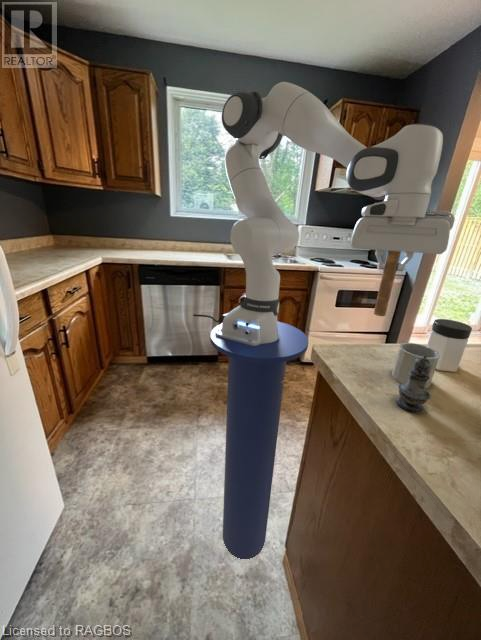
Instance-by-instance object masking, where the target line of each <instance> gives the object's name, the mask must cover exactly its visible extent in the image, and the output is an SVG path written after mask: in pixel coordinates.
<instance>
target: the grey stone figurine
mask: <svg viewBox="0 0 481 640" xmlns="http://www.w3.org/2000/svg"><path fill="white" fill-rule="evenodd" d="M426 357H427V356H426V355H424V356H423V357H422V358H417V359H416V360H415V362H414V366H413V369H412V370H411V371H409V374H410V377H409V380H408V382H407V383H399V384H398V385H397V389H398V393H399V397H397V398H395V403H396V405H397V406H398V407H399V408H401V409H402V410H404V411H406V412H409V413H412V414H422V413H424V412H425V406H424V405H425V404H426V403H427V402H428V400H430V399H431V398H432V395H431V392H429V390H427V388H425V385H426V382H427V380H429V379H430V377H429V376H428V374H429V371H430V368H431V362H430V361H429V360H428V359H427V358H426Z"/></svg>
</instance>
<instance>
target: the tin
mask: <svg viewBox="0 0 481 640" xmlns="http://www.w3.org/2000/svg"><path fill="white" fill-rule="evenodd" d="M424 355H426V356H427V357H426V358H427V359H428V360H429V361H430V362H431V368H430V371H429V374H428V376H429V377H430V379H429V380H427V382H426V385H425V389H428V388H430V386H431V384H432V381H433V378H434V375H435V372H436V370H437V369H436V366H437V363H438V360H439V357H440V354H439V353H438V352H437V351H435V350H434V349H432V348H429V347H427V345H423V344H419V343H414V342H402V343H400V344H399V346H398V350H397V352H396V356H395V361H394V364H393V366H392V371H391V376H392V378H393V379H394V380H395V381H396V382H398V383H399V384H401V383H407V382H408V380H409V377H410V374H409V371H411V370H412V369H413V366H414V362H415V360H416V359H417V358H422V357H423V356H424Z"/></svg>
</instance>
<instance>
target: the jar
mask: <svg viewBox="0 0 481 640" xmlns="http://www.w3.org/2000/svg"><path fill="white" fill-rule="evenodd" d="M472 330H473V327H472V326H470V325H469V324H468V323H467V324H466V323H464V322H461V321H457V320H453V319H448V318H447V319H446V318H436V319H434V321H433V323H432V327H431V332H430V335H429V337H428V341H427V345H426V346H427V347H429V348H432V349H434V350H435V351H437V352H438V353H439V354H440V357H439V360H438V363H437V366H436V369H435V370H437V371H443V372H452V373H457V371H458V369H459V366H460V363H461V361H462V358H463V356H464V353H465V350H466V347H467V344H468V342H469V338H470V336H471V333H472Z"/></svg>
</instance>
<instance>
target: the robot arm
mask: <svg viewBox="0 0 481 640" xmlns="http://www.w3.org/2000/svg"><path fill="white" fill-rule="evenodd" d="M221 124H222V126H223V129H224V130H225V132H227V133H228V135H229V136H230V137H231V138H233V139H236V140H235V143H234V144H233V145H231V146H229V148H228V149H227V150H226V152H225V155H224V163H225V164H224V166H225V172H226V177H227V180H228V183H229V186H230V187H229V188H230V190H231V192H232V194H233V198H234V201H235V204H236V207H237V209H238V210H239V212H240V213H241V214H242V215H244V216H245V217H246V218H241V219H238V220H237V221H236V222H234V224H233V225H232V227H231V230H230V236H229V239H230V244H231V247H232V248H233V250H234V252H235V253H237V254H238V255H239V257H240V258H241V260H242V263H243V267H244V271H245V292H244V293H243V294H241V296H240V297H239V299H238V304H239V305H238V306H236V307H235V308H233V309H231V310H230V311H229V312H227V313H224V314H222V315H221V316H219V318H218V320H217V319H216V318H214V316H212V315H208V314H195V313H194V314H192V316H193V317H199V318H201V317H202V318H210V319H211V320H213V321H214V322H215V323H220V322H221V321H222V322H221V323H223V324H221V323H220V324H221V325H220V326H219V327H218V328H217V329H216V336H218V337H222V338H225V339H229V340H233V341H236V342H240V343H244V344H247V345H251V346H256V345H259V344H265V343H271V342H275V341H277V340H278V339H279V332H278V324H277V321H278V315H279V312H280V297H279V296H280V286H281V285H280V284H281V274H280V272H279V270H277V269H276V268H275V267H274V263H273V255H282V254H285V253H287V252H290V251H292V250H294V249H295V248H296V247H297V246H298V243H299V239H300V231H299V229H298V226H297V225H296V224H295V223H294V222H292V221H291V220H290V219H289V218H288V217H287V216H286V215H285V213H284V212H283V210H282V209H281V207H280V206H279V204H278V203H277V202H276V200H275V198H274V196H273V194H272V192H271V190H270V188H269V185H268V182H267V179H266V176H265V174H264V172H263V169H262V166H261V165H262V164H261V163H260V160H264V159H266V158H267V157H268V156H269V155H270V154H272V153H273V152H274V151H275V150H276V149H277V148H278V147H279V145H280V143H281V141H282V140H283V137H284V138H285V139H286V140H288V142H291V143H292V144H293V145H295V146H297V147H299V148H301V149H303V150H306V151H309V152H312V153H316V154H319V155H322V156H325V157H328V158H330V159H332V160H334V161H336V162H338V163H339V164H340V165H342V166H343V167H344V168H346V174H345V175H346V182H347V184H348V186H349V187H350V189H352V190H353V191H355V192H357V193H358V194H362V195H364V196H368V197H370V198H372V199H373V200H379V201H378V202H375V203H373V204H368V205H365V206H363V208H362V209H361V211H360V212H361V216H362V217H360V218H359V219H358V220H357V221H356V222H355V225H354V228H353V230H352V234H351V237H350V242H349V246H350V247H351V248H352V249H357V250H358V249H359V250H372V251H375V253H374V255H375V257H376V260H377V266H376V269H377V270H379V271H383V270H384V269H385V266H386V263H385V261H383V259H382V257H381V256H383V255H384V252H385V251H387V252H388V251H400V252H401V253H402V252H403V256H404V257H405V258H403V260H402V261H401V262H398V266H397V270H396V272H401V273H402V272H404V271H405V268H406V265H407V264H408V263H409V262H410V261H411V260H412V259H413V257H414V254H415V253H416V254H428V255H429V254H432V255H442V254H443V253H445V252H447V250H448V245H449V240H450V234H451V233H450V232H451V230H452V229H453V227H454V224H455V219H456V218H455V215H454V214H453V213H452V212H450V211H449V210H435V209H428V207H429V203H430V199H431V196H432V184H433V180H434V179H435V177H436V175H437V173H438V170H439V169H438V168H439V164H440V161H441V156H442V150H443V145H444V144H443V143H444V135H443V132H442V131H441V129H440V128H439V127H437V126H436V125H432V124H431V123H421V122H418V123H412V124H407V125H405V126H403V127H402V128H401V129H400V130H399V131H398V132H397V133H396V134H394V135H393V136H391V137H389V138H388V139H386V140H383V141H382V142H380V143H378V144H375V145H372V146H369V147H367V146H366V145H365V144H363V143H362V142H360V141H358V140H357V139H356V138H355V137H353V136H352V135H351V134H350V133H349V132H348V131H347V130H346V129H345V128H344V126H343V125H342V124H341V123H340V121H339V120H338V119H337V118H336V117H335V115H334V114H333V112H331V110H330V109H329V108H328V107H327V106H326V105H325V103H323V101H322V100H320V99H319V98H318V97H317V96H316V95H314V94H313V93H311V92H310V91H308V90H307V89H305V88H303V87H301V86H299V85H297V84H294V83H292V82H289V81H288V82H287V81H281V82H278V83H277V84H275V85H274V86H273V87H272V88H271V89H270V91H269V92H268V94H267V95H266V96H265V97H262V96H261V94H260V93H259V92H258V91H252V92H246V91H237V92H234V93H232V94H231V95H230V96H229V97H228V98H227V99H226V101H225V103H224V105H223V107H222V110H221ZM381 200H382V201H381Z"/></svg>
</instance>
